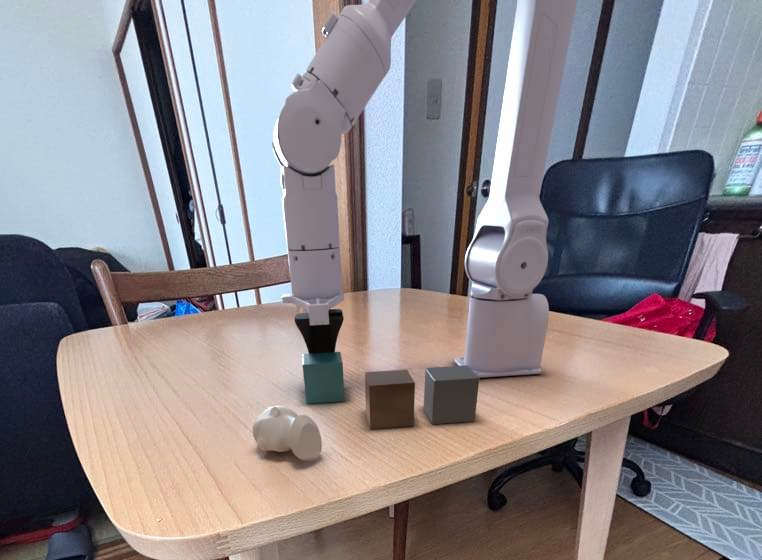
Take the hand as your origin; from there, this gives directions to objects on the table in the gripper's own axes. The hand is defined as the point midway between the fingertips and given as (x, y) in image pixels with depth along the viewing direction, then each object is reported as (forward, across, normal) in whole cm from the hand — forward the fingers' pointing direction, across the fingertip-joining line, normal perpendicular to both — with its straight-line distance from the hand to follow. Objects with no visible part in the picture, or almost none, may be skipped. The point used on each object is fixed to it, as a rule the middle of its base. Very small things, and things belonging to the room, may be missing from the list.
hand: (323, 375), depth 59 cm
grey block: (+1, +12, +13) cm, 18 cm away
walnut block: (+1, +12, +7) cm, 14 cm away
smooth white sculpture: (+2, +19, -4) cm, 19 cm away
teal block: (+1, +4, 0) cm, 4 cm away
